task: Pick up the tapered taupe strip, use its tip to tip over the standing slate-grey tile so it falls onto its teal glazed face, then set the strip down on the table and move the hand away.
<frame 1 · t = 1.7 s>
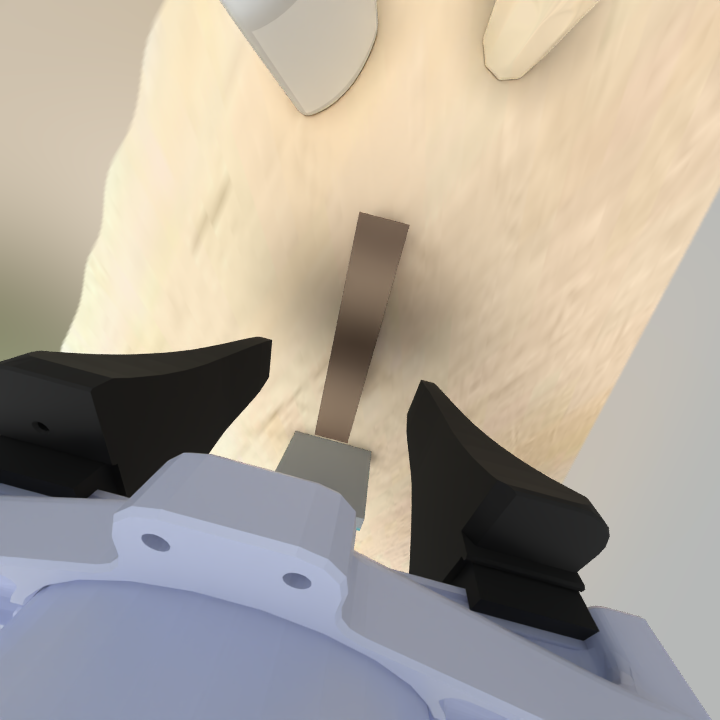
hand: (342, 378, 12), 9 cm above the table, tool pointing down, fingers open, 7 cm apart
tile: (332, 446, 26), on the table
eye dropper bottle: (329, 62, 14), on the table
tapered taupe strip: (363, 322, 20), on the table
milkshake: (522, 33, 13), on the table
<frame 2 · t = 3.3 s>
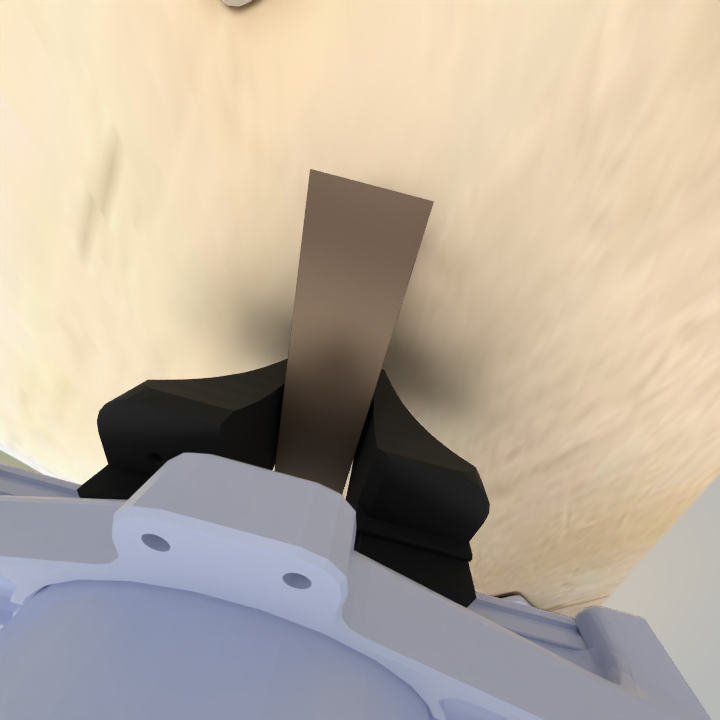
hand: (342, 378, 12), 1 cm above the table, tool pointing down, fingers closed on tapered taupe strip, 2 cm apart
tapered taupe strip: (347, 364, 13), on the table, touching gripper
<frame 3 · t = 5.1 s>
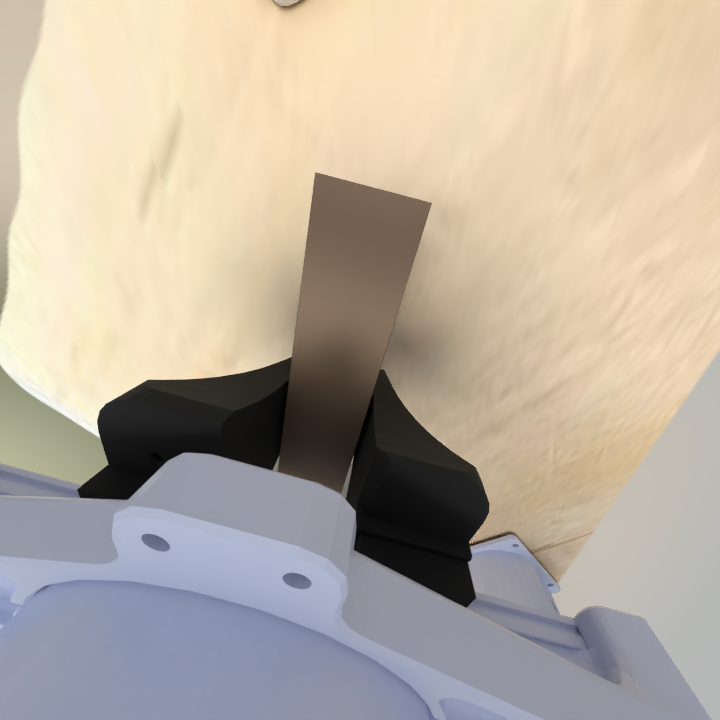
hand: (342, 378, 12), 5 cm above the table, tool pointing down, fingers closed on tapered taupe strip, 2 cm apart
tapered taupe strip: (348, 361, 14), point 3 cm above the table, touching gripper
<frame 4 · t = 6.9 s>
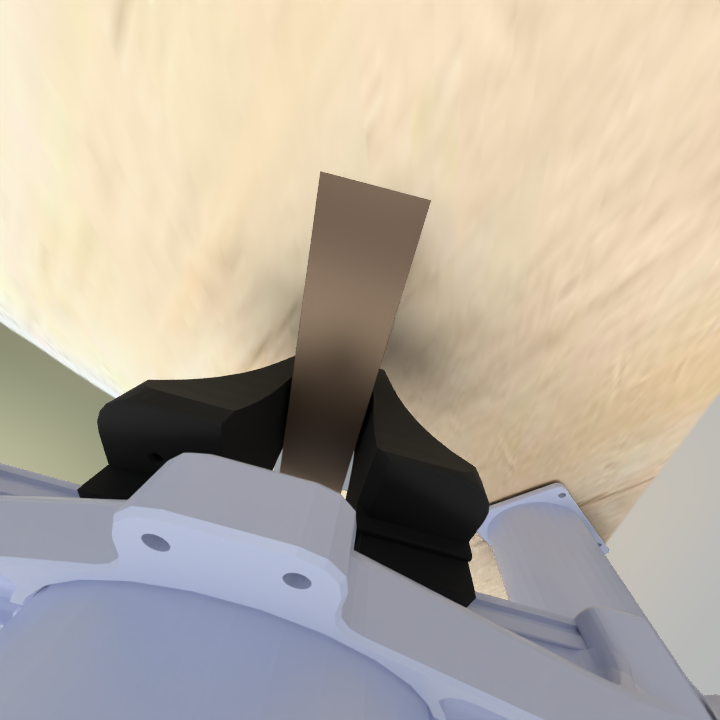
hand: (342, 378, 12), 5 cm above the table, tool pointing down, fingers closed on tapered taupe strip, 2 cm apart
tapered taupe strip: (349, 358, 14), point 3 cm above the table, touching gripper
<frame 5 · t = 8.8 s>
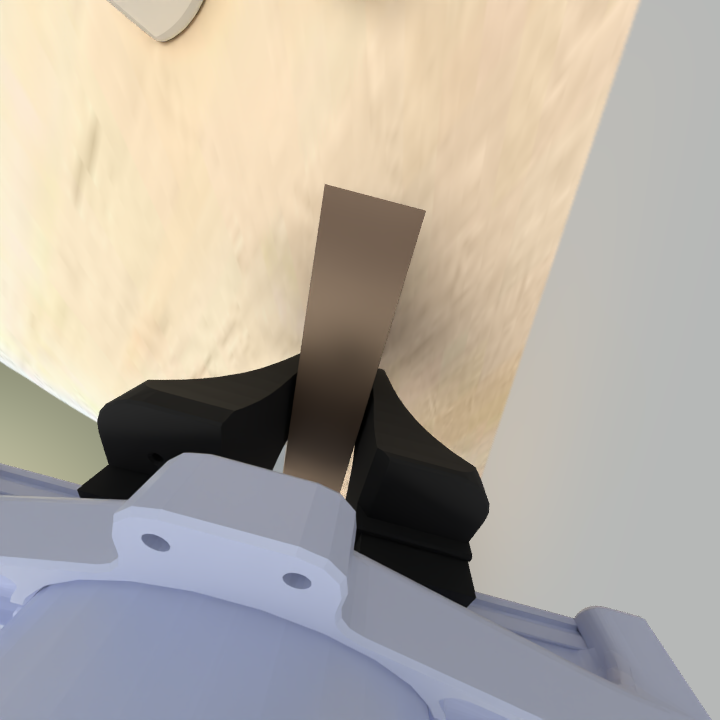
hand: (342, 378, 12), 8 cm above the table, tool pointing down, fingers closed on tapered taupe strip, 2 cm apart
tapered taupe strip: (349, 357, 14), point 6 cm above the table, touching gripper
when the fingers open (2 cm above the table, at t = 10.2 s): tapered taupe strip stays where it is, on the table.
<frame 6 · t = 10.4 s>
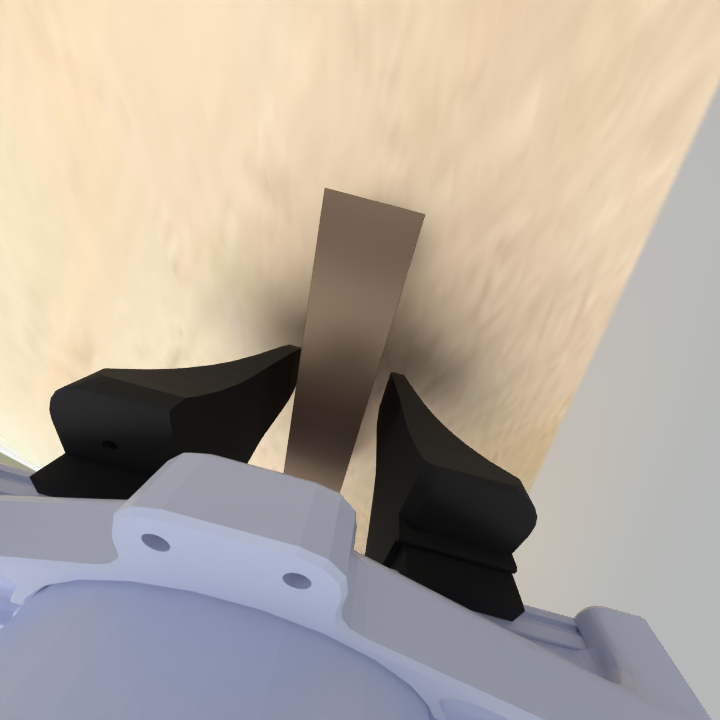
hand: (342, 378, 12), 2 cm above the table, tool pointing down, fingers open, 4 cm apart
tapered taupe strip: (350, 357, 14), on the table
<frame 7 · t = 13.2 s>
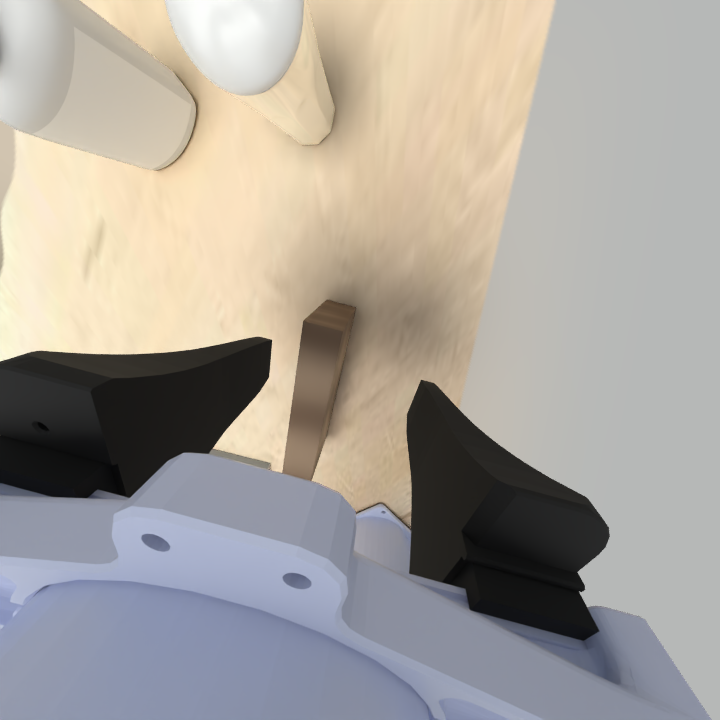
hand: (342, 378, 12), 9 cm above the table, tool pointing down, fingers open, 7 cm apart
tile: (235, 456, 29), on the table, tilted 90°
eye dropper bottle: (166, 127, 17), on the table
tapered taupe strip: (326, 376, 23), on the table
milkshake: (314, 108, 15), on the table
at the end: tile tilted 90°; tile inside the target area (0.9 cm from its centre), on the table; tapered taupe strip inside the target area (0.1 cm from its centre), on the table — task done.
